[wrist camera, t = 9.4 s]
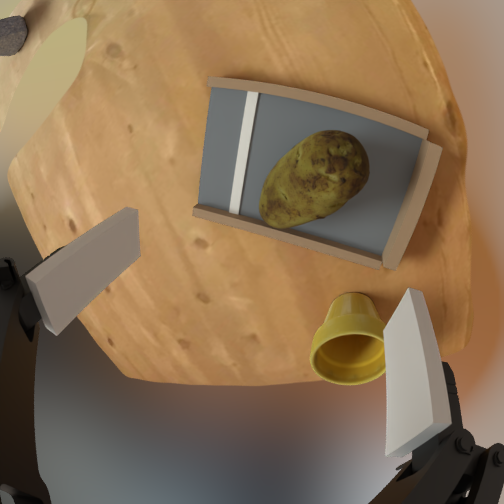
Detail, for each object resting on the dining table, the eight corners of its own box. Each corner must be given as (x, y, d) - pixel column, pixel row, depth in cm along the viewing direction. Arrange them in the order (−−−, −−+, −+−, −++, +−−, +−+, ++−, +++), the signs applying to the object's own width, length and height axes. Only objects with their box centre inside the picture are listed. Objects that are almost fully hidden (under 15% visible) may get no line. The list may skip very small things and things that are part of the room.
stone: (14, 39, 30) (21, 7, 23) (30, 53, 34) (37, 19, 26) (-25, 61, 23) (-23, 27, 16) (-12, 77, 27) (-9, 40, 19)
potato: (244, 161, 31) (217, 177, 25) (349, 118, 26) (354, 120, 19) (274, 223, 34) (257, 255, 27) (377, 188, 28) (388, 214, 22)
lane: (216, 78, 28) (203, 75, 25) (434, 133, 24) (445, 137, 21) (200, 209, 37) (188, 219, 34) (387, 263, 33) (391, 279, 30)
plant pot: (392, 327, 37) (397, 378, 29) (329, 341, 42) (322, 391, 34) (379, 272, 34) (387, 322, 26) (307, 291, 39) (296, 341, 30)
